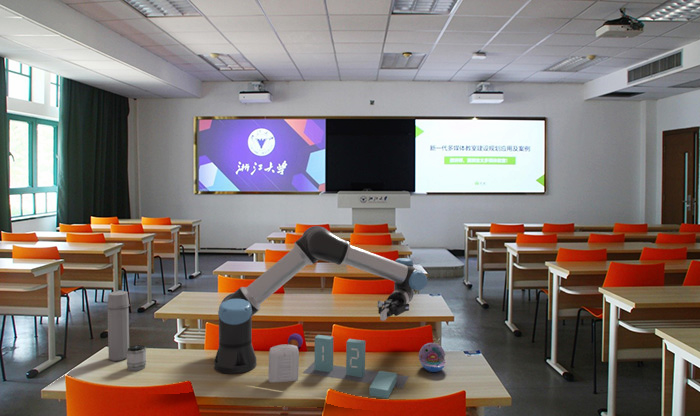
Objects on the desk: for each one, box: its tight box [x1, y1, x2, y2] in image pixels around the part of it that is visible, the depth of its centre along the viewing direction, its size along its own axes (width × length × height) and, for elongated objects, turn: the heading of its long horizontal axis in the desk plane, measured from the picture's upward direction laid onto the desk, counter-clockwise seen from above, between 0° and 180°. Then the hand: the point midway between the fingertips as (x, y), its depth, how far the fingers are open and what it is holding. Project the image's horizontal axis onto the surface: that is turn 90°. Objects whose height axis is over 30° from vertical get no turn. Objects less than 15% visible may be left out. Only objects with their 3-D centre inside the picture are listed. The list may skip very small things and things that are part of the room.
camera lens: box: [126, 344, 147, 372], centre depth 172 cm, size 6×6×8 cm
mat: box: [302, 361, 410, 389], centre depth 168 cm, size 36×10×1 cm, turn 72°
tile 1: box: [313, 334, 334, 372], centre depth 171 cm, size 6×3×12 cm, turn 72°
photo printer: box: [267, 343, 300, 383], centre depth 163 cm, size 10×4×12 cm, turn 103°
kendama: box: [287, 333, 304, 349], centre depth 187 cm, size 6×6×20 cm
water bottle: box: [106, 290, 131, 362], centre depth 181 cm, size 9×8×25 cm
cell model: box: [418, 342, 447, 373], centre depth 173 cm, size 10×12×10 cm
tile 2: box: [345, 338, 366, 377], centre depth 167 cm, size 6×3×12 cm, turn 72°
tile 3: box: [369, 370, 398, 399], centre depth 157 cm, size 6×3×12 cm
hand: (382, 316), depth 172 cm, fingers closed
